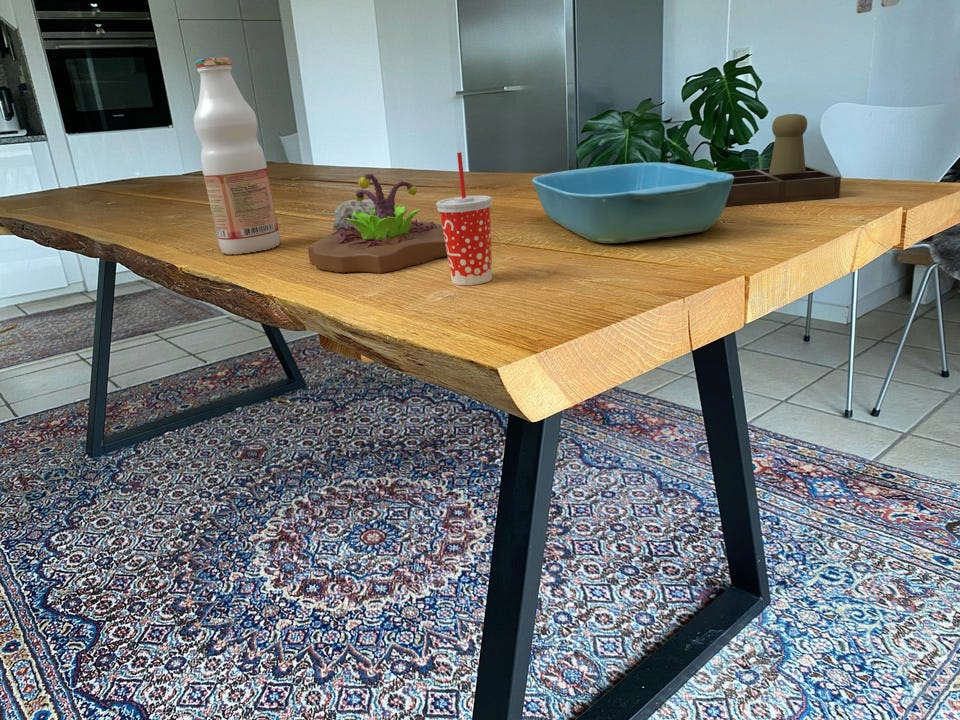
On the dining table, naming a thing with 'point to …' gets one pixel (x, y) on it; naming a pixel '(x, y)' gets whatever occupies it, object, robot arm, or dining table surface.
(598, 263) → the dining table surface
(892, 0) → the robot arm
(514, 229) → the dining table surface
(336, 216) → the decorative stone
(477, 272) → the beverage cup
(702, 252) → the dining table surface
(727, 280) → the dining table surface
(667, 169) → the casserole dish
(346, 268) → the plant
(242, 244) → the fruit juice
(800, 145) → the cork
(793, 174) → the compartment tray
